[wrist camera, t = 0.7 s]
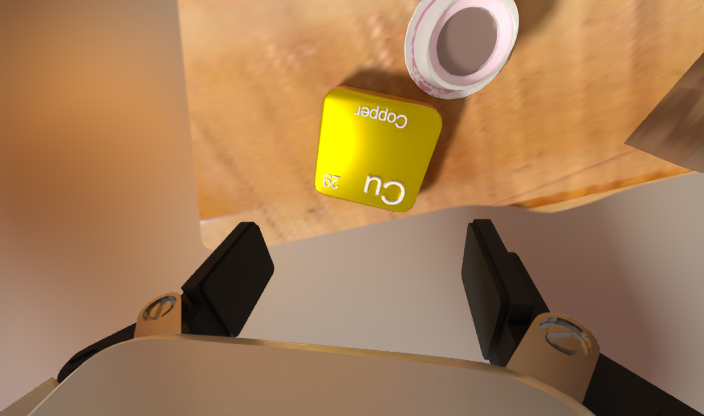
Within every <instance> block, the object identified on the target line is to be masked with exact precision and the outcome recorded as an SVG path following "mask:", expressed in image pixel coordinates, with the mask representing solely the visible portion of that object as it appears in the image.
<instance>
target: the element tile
mask: <svg viewBox="0 0 704 416" xmlns="http://www.w3.org/2000/svg"><path fill="white" fill-rule="evenodd" d="M441 129H442V118H441V116H440V114H439V112H438V111H437V109H436V108H435V107H434V106H433V105H431V104H429V103H427V102H422V101H417V100H413V99H408V98H403V97H399V96H394V95H389V94H385V93H380V92H375V91H370V90H366V89H361V88H356V87H352V86H347V85H342V86H338V87H335V88H334V89H332V90H330V91H329V92H328V93H326V95H325V97H324V99H323V102H322V110H321V120H320V130H319V139H318V149H317V159H316V169H315V179H314V183H315V186H316V189H317V190H318V191H319V192H320V193H322V194H323V195H326V196H329V197H334V198H338V199H342V200H346V201H351V202H355V203H359V204H364V205H368V206H372V207H377V208H381V209H385V210H390V211H394V212H406V211H408V210H410V209H411V208H412V207H413V205H414V204H415V201H416V198H417V195H418V193H419V190H420V187H421V184H422V182H423V179H424V176H425V173H426V171H427V168H428V165H429V162H430V160H431V157H432V154H433V151H434V149H435V146H436V143H437V140H438V138H439V135H440V132H441Z"/></svg>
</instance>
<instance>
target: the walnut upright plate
mask: <svg viewBox="0 0 704 416" xmlns="http://www.w3.org/2000/svg"><path fill="white" fill-rule="evenodd" d="M625 144H627V145H629V146H632V147H634V148H637V149H639V150H642V151H644V152H647V153H649V154H651V155H654V156H656V157H659V158H661V159H664V160H666V161H669V162H671V163H673V164H676V165H678V166H681V167H684V168H688V169H691V170H694V171H697V172H701V173H704V53H703V54H702V55H701V56H700V57H699V58H698V60H697V61H696V62H695V63H694V64H693V65H692V66H691V68H690V69H689V70H688V71H687V72H686V73H685V74H684V76H683V77H682V78H681V79H680V80H679V81H678V82H677V83H676V85H675V86H674V87H673V88H672V89H671V90H670V91H669V93H668V94H667V95H666V96H665V97H664V98H663V99H662V101H661V102H660V103H659V104H658V105H657V106H656V107H655V109H654V110H653V111H652V112H651V113H650V114H649V115H648V117H647V118H646V119H645V120H644V121H643V122H642V123H641V124H640V126H639V127H638V128H637V129H636V130H635V131H634V132H633V134H632V135H631V136H630V137H629V138H628V139H627V140H626V142H625Z"/></svg>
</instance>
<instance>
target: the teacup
mask: <svg viewBox="0 0 704 416" xmlns="http://www.w3.org/2000/svg"><path fill="white" fill-rule="evenodd" d="M518 28H519V15H518V10H517V6H516V4H515V2H514V0H422V1H421V2H420V3H419V4H418V6H417V8H416V10H415V12H414V14H413V16H412V18H411V20H410V22H409V24H408V28H407V33H406V37H405V42H404V50H405V63H406V66H407V68H408V71H409V74H410V77H411V78H412V80H413V81H414V82H415V83H416V85H417V86H418V87H419V88H420V89H421V90H422V91H424V92H426V93H427V94H429V95H431V96H432V97H436V98H441V99H447V100H449V99H456V98H463V97H466V96H468V95H470V94H472V93H475V92H477V91H479V90H481V89H482V88H483V87H484V86H485V85H487V84H488V83H489V82H490V81H492V80H493V79H494V78H495V77H496V75H497V74H498V73H499V71H500V70H501V69H502V67H503V66H504V65H505V63H506V62H507V60H508V58H509V55H510V53H511V51H512V49H513V47H514V44H515V41H516V38H517V34H518Z"/></svg>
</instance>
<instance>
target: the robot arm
mask: <svg viewBox="0 0 704 416" xmlns="http://www.w3.org/2000/svg"><path fill="white" fill-rule="evenodd" d="M273 273H274V264H273V262H272V259H271V257H270V254H269V251H268V249H267V246H266V244H265V241H264V238H263V236H262V233H261V231H260V228H259V226H258V225H256V224H255V223H254V222H240V223H239V224H238V225H237V226H236V228H235V229H234V230H233V231H232V232H231V233H230V234H229V235H228V236H227V237H226V239H225V240H224V241H223V242H222V243H221V244H220V245H219V246H218V247H217V248H216V250H215V251H214V252H213V253H212V254H211V255H210V256H209V257H208V258H207V259H206V261H205V262H204V263H203V264H202V265H201V266H200V267H199V268H198V269H197V270H196V272H195V273H194V274H193V275H192V276H191V277H190V278H189V279H188V280H187V282H186V283H185V284H184V285H183V286H182V287H181V289H182V290H183V294H182V295H179V294H178V293H174V292H172V293H166V294H164V295H161V296H159V297H157V298H155V299H153V300H152V301H151V302H149V303H148V304H147V305H146V306H145V307H144V308H143V309H142V310H141V311H140V313H139V315H138V318H137V322H136V323H134V324H132V325H130V326H128V327H126V328H124V329H122V330H120V331H118V332H116V333H114V334H112V335H110V336H108V337H106V338H104V339H102V340H100V341H98V342H96V343H94V344H92V345H90V346H88V347H87V348H85V349H83V350H82V351H80V352H78V353H76V354H75V355H74V356H73V357H72V358H71V359H70V360H69V361H68V362H67V363H66V364H65V365H64V366H63V368H62V369H61V370H60V372H59V374H58V377H57V379H54V378H53V377H52V378H50V379H49V380H47V381H46V382H44V383H43V384H41V385H40V386H39V387H37V388H35V389H34V390H32V391H31V392H29V393H28V394H26V395H25V396H23V397H22V398H21V399H19V400H17V401H16V402H14V403H13V404H11V405H10V406H8V407H7V408H5V409H4V410H2V411H1V412H0V416H704V415H703V414H701V413H700V412H698V411H696V410H695V409H693V408H691V407H690V406H688V405H686V404H685V403H683V402H681V401H680V400H678V399H676V398H675V397H673V396H671V395H669V394H668V393H666V392H664V391H663V390H661V389H660V388H658V387H656V386H654V385H653V384H651V383H650V382H648V381H646V380H645V379H643V378H641V377H640V376H638V375H636V374H634V373H633V372H631V371H630V370H628V369H626V368H625V367H623V366H621V365H620V364H618V363H616V362H615V361H612V360H611V359H610V358H608V357H606V356H604V355H603V354H601V353H600V347H599V344H598V342H597V339H596V338H595V337H594V335H593V334H592V333H591V331H589V330H588V329H587V328H586V327H585V326H584V325H582V324H581V323H579V322H577V321H576V320H574V319H572V318H570V317H567V316H565V315H562V314H558V313H550V311H549V309H548V307H547V306H546V304H545V302H544V300H543V299H542V297H541V295H540V293H539V291H538V290H537V288H536V287H535V285H534V283H533V281H532V279H531V277H530V276H529V274H528V272H527V270H526V269H525V267H524V265H523V263H522V262H521V260H520V258H519V256H518V255H517V254H516V253H514V252H508V251H507V250H506V248H505V246H504V244H503V242H502V240H501V238H500V236H499V235H498V233H497V231H496V229H495V227H494V225H493V223H492V221H491V220H490V219H474V221H473V223H469V224H468V228H467V235H466V242H465V249H464V257H463V264H462V272H461V274H462V280H463V284H464V288H465V292H466V296H467V299H468V303H469V307H470V310H471V314H472V318H473V321H474V325H475V329H476V333H477V336H478V340H479V344H480V347H481V351H482V355H483V357H484V359H485V360H489V361H490V364H487V363H482V362H476V361H469V360H462V359H455V358H446V357H437V356H428V355H419V354H410V353H400V352H389V351H379V350H369V349H358V348H347V347H337V346H325V345H315V344H304V343H293V342H281V341H270V340H258V339H245V338H235V337H237V336H238V335H239V334H240V332H241V330H242V328H243V327H244V325H245V323H246V321H247V319H248V317H249V316H250V314H251V312H252V310H253V309H254V307H255V305H256V303H257V302H258V300H259V298H260V296H261V294H262V293H263V291H264V289H265V287H266V285H267V284H268V282H269V280H270V278H271V276H272V275H273Z"/></svg>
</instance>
